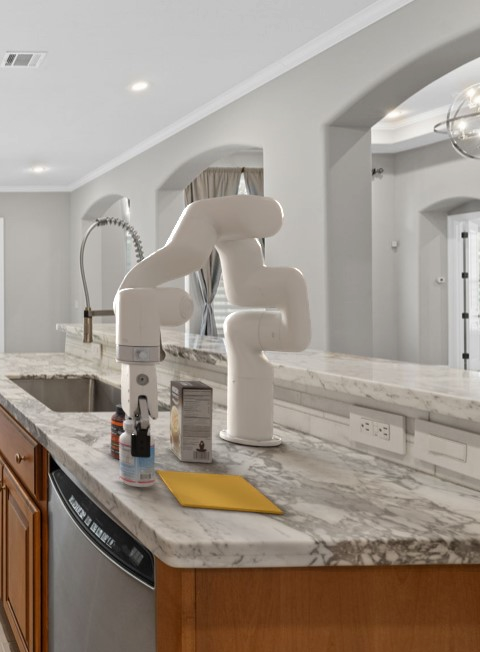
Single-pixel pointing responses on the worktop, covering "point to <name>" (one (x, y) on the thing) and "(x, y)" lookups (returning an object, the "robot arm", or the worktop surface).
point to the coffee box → (191, 421)
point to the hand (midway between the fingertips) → (136, 450)
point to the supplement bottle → (117, 430)
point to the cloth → (216, 492)
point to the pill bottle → (135, 461)
